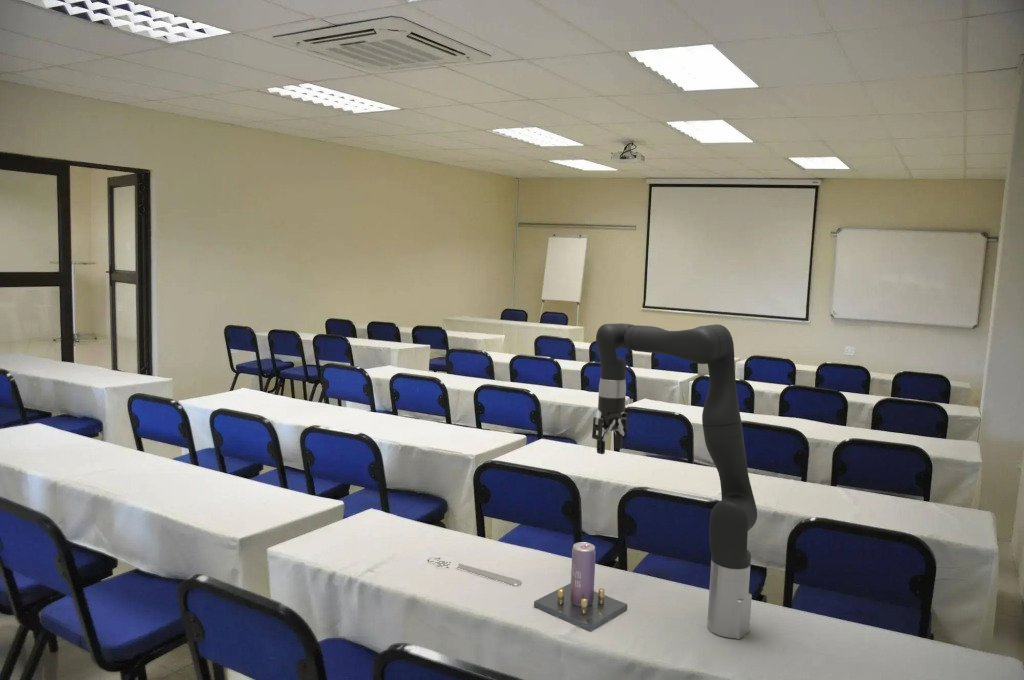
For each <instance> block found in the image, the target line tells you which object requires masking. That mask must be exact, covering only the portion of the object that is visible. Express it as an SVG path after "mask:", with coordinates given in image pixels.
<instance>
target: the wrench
mask: <svg viewBox="0 0 1024 680" xmlns="http://www.w3.org/2000/svg"><path fill="white" fill-rule="evenodd" d="M428 559H429V560H430V559H431V558H428ZM436 560H437V561H439V560H440V559H436ZM430 562H434V561H430ZM440 562H442V563H440ZM435 563H437V564H438V565H436V568H437V567H443V566H448V565H450V564H447V563H448V562H446V563H445V561H439V562H435ZM449 563H451V562H449ZM441 564H443V565H441ZM445 564H447V565H445ZM458 565H459V566H458V567H457V568H460V569H463V570H466V571H468V572H472V573H475V574H478V575H482V576H485V577H488V578H491V579H495V580H498V581H501V582H504V583H506V584H505V585H508V584H509V585H508V586H511V585H512V586H511V587H520V586H521V584H522V585H523V582H522V581H521V580H520V579H517V578H513V577H509V576H506V575H501V574H499V573H495V572H493V571H492V572H491V571H487V570H485V569H480V568H478V567H477V568H476V567H473V566H471V565H470V566H469V565H466V564H463V563H459V564H458ZM468 572H467V573H468ZM472 573H471V574H472ZM475 574H474V575H475ZM478 575H477V576H478ZM485 577H484V578H485ZM488 578H487V579H488ZM491 579H490V580H491ZM495 580H494V581H495ZM498 581H497V582H498ZM501 582H500V583H501ZM504 583H503V584H504ZM519 585H520V586H519Z"/></svg>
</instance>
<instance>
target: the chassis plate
mask: <svg viewBox="0 0 1024 680" xmlns="http://www.w3.org/2000/svg"><path fill="white" fill-rule="evenodd" d="M605 590H606V589H604V588H602V587H601V588H598V592H597V591H595V590H594V600H593V603H592V604H591V605H590V606H588V607H587V602H588V599H587V598H581V607H579V606H576V605H574V604H573V603H572V602H571V600H570V593H571V582H569V583H568V584H566V585H564V586H562V587H560V588H558V589H556V590H554V591H552V592H550V593H548V594H546V595H544V596H542V597H540V598H538V599H536V600H534V601H533V608H536V609H538V610H540V611H543V612H545V613H547V614H549V615H552V616H554V617H557V618H559V619H561V620H564V621H565V622H568V623H570V624H572V625H574V626H577V627H579V628H581V629H584V630H586V631H588V632H593V631H594V630H596V629H597V628H599V627H601V626H603V625H604V624H605V623H608V622H609V621H611V620H613V619H614V618H616V617H618V616H619V615H621V614H622V613H625V612H626V611H627V610H628V605H629V604H628V603H625V602H623V601H620V600H618V599H615V598H613V597H611V596H607V595H606V594H605Z"/></svg>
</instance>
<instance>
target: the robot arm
mask: <svg viewBox="0 0 1024 680" xmlns="http://www.w3.org/2000/svg"><path fill="white" fill-rule="evenodd" d="M595 343H596V348H597V352H598V353H597V354H598V356H599V357H598V358H599V361H600V377H599V383H598V397H597V398H598V400H597V401H598V402H597V404H598V405H597V409H598V411H599V412H600V413H601V414H600V416H599V417H596V416H595V417H593V421H592V431H591V432H592V433H591V434H592V435H591V438H592V440H593V439H594V440H596V453H597V454H599V455H605V454H606V439H607V437H608V435H610V433H611V432H614V434H615V435H614V441H613V442H614V446H613V447H614V449H616V450H621V449H622V448H623V437H624V436H625V434H628V432H629V413H628V412H625V411H626V395H627V394H626V393H627V384H626V373H627V372H626V371H627V363H626V360H625V359H624V358H622V357H619V356H618V355H617V350H619V349H628V350H631V351H633V352H640V353H650V354H660V355H668V356H672V357H676V358H679V359H682V360H686V361H688V362H692V363H695V364H698V365H706V364H707V368H708V369H707V371H708V376H709V377H708V378H709V381H708V390H707V394H706V398H705V400H704V405H703V409H702V414H701V421H702V422H701V423H702V429H703V438H704V442H705V446H706V449H707V452H708V454H709V456H710V458H711V459H712V462H713V464H714V466H715V468H716V470H717V473H718V477H719V483H720V484H719V485H720V490H721V494H720V495H721V500H720V501H718V502H717V503H716V504H714V506H713V507H712V509H711V512H710V515H709V538H708V539H709V541H708V542H709V543H708V544H709V550H710V553H711V555H710V557H711V558H710V559H711V560H710V574H709V575H710V577H709V589H708V590H709V591H708V607H707V617H706V618H707V628H708V630H709V632H711V633H713V634H715V635H717V636H720V637H723V638H730V639H731V638H732V639H736V640H741V638H743V637H744V636H745V635H746V634H748V633H749V632H750V627H751V614H752V613H751V612H752V598H753V597H752V596H753V595H752V594H751V593H750V577H751V575H750V574H751V564H752V563H751V562H752V555H751V552H750V551H749V549H748V534H749V531H750V530H751V529H753V527H754V525H755V524H756V522H757V520H758V508H757V504H756V499H755V496H754V493H753V489H752V484H751V480H750V477H749V470H748V462H747V453H746V447H745V438H744V437H745V436H744V431H743V430H744V429H743V423H742V418H741V413H740V404H739V398H738V389H737V381H736V365H735V363H736V362H735V345H734V340H733V337H732V334H731V332H730V330H729V329H728V328H727V327H726V326H724V325H722V324H715V323H714V324H708V325H707V324H706V325H702V326H696V327H694V328H690V329H682V330H669V329H668V330H667V329H664V328H661V327H657V326H653V325H636V324H635V325H634V324H630V323H604V324H602V325H601V326H599V328H598V329H597V331H596V335H595Z"/></svg>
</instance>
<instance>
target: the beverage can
mask: <svg viewBox="0 0 1024 680" xmlns="http://www.w3.org/2000/svg"><path fill="white" fill-rule="evenodd" d="M571 551H572V552H571V569H570V570H571V571H570V573H571V574H570V575H571V576H570V583H571V593H570V600H571V602H572V603H573V604H574V605H576V606H579V607H581V598H587V599H588V602H587V607H588V606H590V605H591V604H592V603H593V600H594V591H595V577H596V576H595V574H596V572H595V571H596V570H595V569H596V552H597V551H596V546H595V545H594V544H592V543H590V542H585V541H583V542H582V541H581V542H575V543H574V544H573V546H572V550H571Z"/></svg>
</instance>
